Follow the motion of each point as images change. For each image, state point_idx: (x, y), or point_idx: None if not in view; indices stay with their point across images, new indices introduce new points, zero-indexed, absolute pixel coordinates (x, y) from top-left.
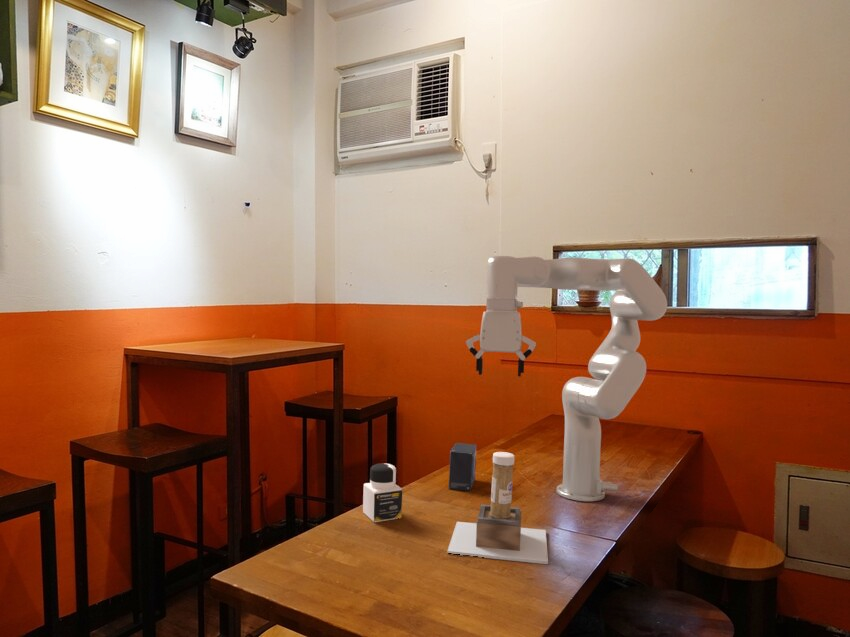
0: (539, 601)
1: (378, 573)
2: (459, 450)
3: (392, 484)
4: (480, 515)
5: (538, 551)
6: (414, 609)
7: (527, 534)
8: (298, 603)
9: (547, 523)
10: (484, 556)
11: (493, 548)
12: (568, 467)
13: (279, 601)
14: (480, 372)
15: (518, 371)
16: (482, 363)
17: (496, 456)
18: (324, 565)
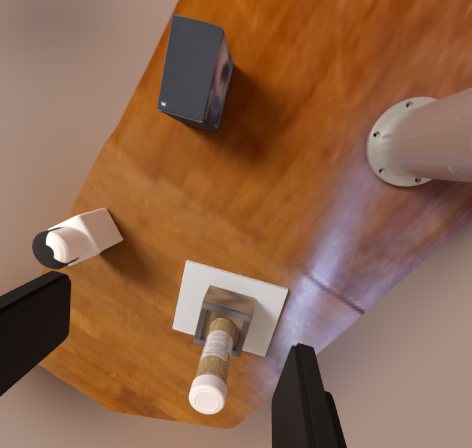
0: (238, 403)
1: (117, 352)
2: (176, 101)
3: (82, 255)
4: (197, 335)
5: (261, 338)
6: (148, 398)
7: (262, 300)
8: (73, 382)
9: (300, 262)
10: None
11: None
12: (405, 157)
13: (60, 378)
14: (52, 346)
15: (275, 431)
16: (3, 328)
17: (192, 406)
18: (74, 335)
